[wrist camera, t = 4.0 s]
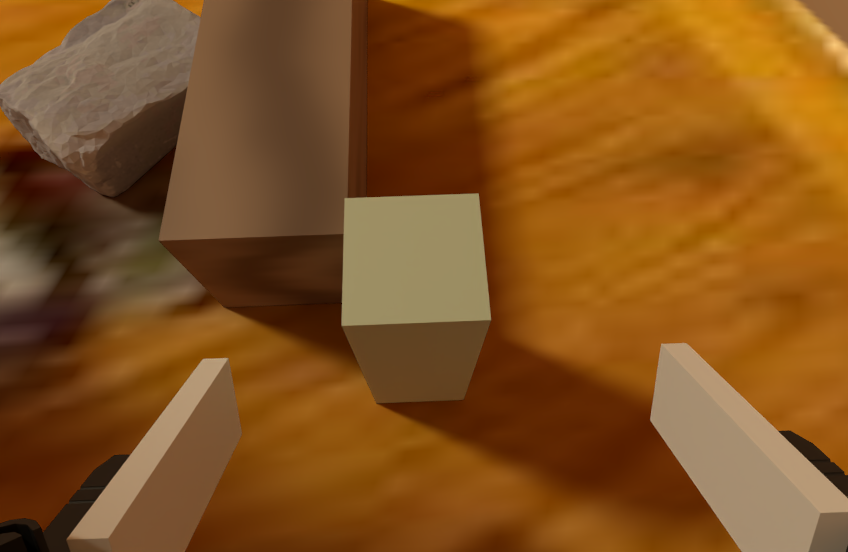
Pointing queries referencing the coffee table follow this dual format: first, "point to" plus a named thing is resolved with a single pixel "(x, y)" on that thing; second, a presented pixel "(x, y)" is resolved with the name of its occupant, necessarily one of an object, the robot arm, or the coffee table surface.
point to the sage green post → (415, 294)
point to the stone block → (108, 93)
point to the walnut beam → (270, 150)
